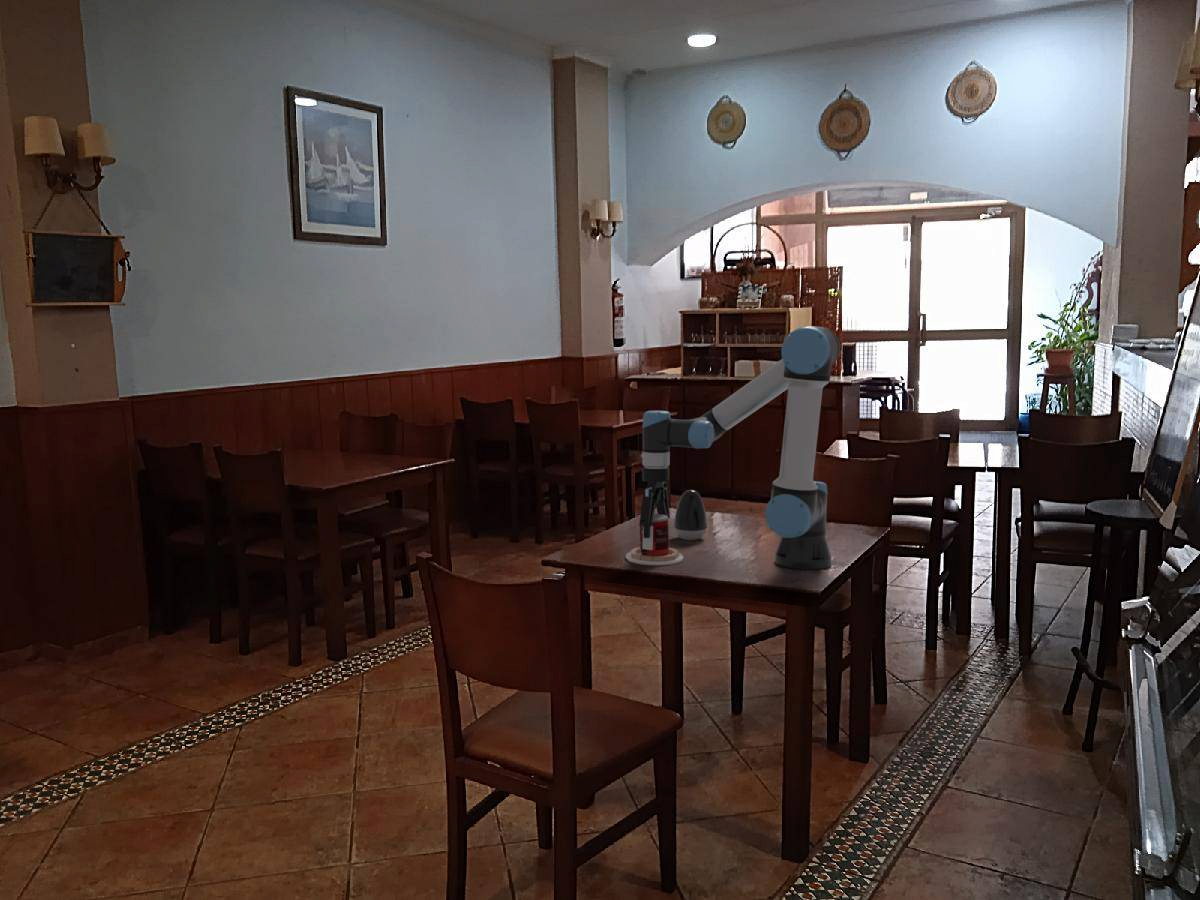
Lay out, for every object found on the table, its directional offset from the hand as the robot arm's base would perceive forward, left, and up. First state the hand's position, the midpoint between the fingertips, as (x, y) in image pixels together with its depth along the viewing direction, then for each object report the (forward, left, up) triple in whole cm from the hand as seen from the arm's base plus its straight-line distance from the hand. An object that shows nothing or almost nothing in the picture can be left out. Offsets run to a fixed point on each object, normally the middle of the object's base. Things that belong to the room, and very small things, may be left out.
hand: (654, 545), depth 267 cm
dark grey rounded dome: (-1, -29, -4) cm, 29 cm away
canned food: (0, 0, -3) cm, 3 cm away
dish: (0, 0, -4) cm, 4 cm away
